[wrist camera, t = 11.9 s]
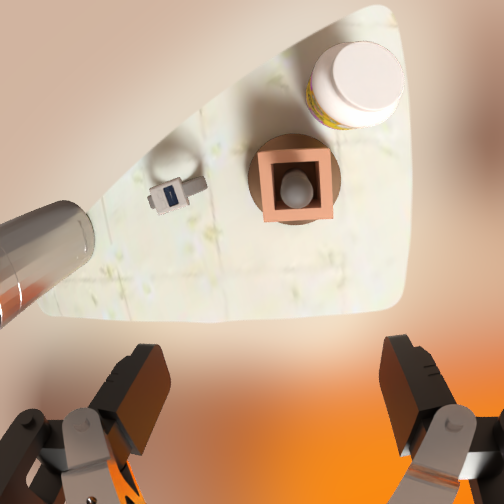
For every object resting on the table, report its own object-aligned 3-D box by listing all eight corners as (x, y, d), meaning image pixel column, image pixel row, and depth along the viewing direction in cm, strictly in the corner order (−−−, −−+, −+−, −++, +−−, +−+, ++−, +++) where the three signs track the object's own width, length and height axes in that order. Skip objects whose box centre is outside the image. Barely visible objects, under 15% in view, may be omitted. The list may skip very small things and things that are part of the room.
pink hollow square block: (266, 211, 31) (263, 222, 27) (261, 151, 29) (257, 152, 25) (327, 208, 30) (333, 218, 26) (324, 147, 28) (329, 148, 24)
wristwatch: (164, 209, 34) (145, 220, 29) (155, 185, 33) (135, 194, 28) (215, 191, 32) (203, 200, 28) (207, 166, 31) (192, 172, 27)
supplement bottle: (301, 68, 27) (309, 24, 15) (366, 68, 26) (410, 30, 14) (308, 132, 29) (322, 126, 17) (372, 130, 28) (423, 127, 16)
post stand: (253, 223, 33) (239, 258, 24) (245, 137, 30) (227, 136, 21) (339, 219, 32) (359, 252, 22) (336, 132, 29) (357, 129, 19)
